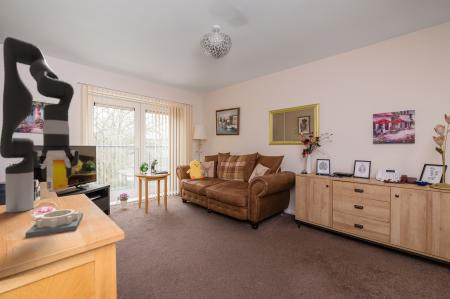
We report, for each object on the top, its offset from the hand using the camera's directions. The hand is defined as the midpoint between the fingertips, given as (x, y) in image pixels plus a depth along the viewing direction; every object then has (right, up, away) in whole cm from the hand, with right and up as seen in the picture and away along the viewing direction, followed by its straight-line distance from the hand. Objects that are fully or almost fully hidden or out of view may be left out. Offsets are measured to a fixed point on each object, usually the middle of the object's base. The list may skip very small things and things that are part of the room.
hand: (57, 178), depth 77 cm
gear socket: (0, -18, 0) cm, 18 cm away
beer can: (0, -5, 0) cm, 5 cm away
